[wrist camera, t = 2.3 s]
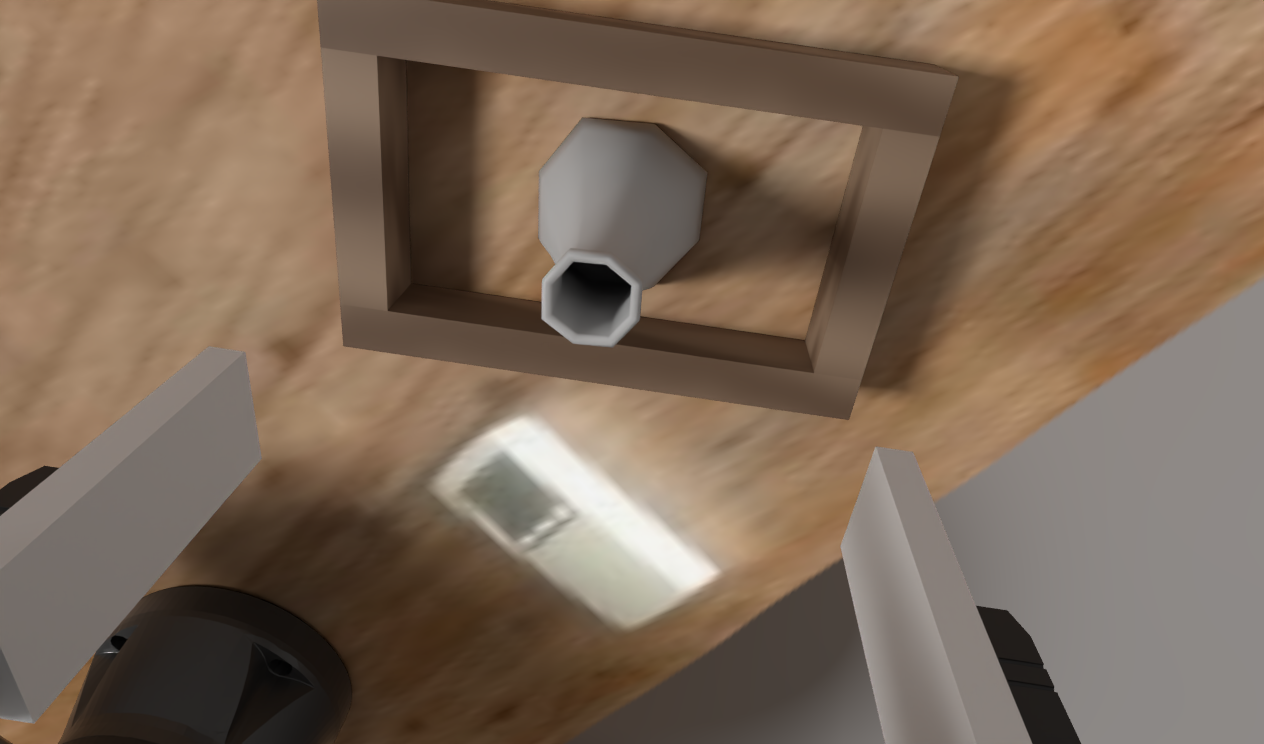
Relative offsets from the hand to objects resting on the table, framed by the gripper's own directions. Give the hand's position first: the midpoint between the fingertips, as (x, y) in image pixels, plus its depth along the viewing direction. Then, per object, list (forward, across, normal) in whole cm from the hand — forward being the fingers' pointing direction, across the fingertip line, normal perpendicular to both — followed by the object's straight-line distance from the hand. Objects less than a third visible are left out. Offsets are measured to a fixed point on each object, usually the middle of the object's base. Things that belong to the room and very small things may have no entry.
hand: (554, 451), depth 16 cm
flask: (+18, 0, 0) cm, 18 cm away
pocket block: (+18, 0, 0) cm, 18 cm away
